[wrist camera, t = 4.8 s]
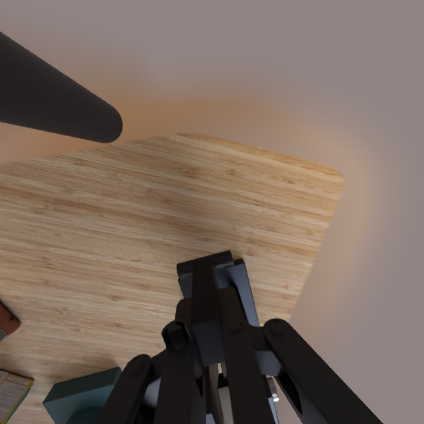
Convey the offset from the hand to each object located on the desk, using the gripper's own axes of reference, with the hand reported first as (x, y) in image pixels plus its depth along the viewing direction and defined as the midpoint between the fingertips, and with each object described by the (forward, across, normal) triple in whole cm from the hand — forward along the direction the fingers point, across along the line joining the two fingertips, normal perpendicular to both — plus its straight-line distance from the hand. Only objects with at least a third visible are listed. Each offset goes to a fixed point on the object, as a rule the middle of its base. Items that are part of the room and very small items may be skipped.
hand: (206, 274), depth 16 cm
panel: (+7, -20, -20) cm, 30 cm away
